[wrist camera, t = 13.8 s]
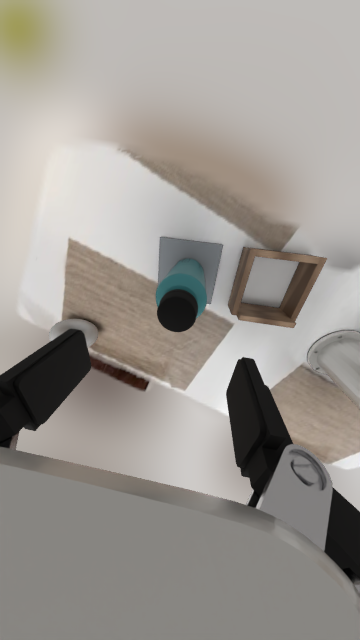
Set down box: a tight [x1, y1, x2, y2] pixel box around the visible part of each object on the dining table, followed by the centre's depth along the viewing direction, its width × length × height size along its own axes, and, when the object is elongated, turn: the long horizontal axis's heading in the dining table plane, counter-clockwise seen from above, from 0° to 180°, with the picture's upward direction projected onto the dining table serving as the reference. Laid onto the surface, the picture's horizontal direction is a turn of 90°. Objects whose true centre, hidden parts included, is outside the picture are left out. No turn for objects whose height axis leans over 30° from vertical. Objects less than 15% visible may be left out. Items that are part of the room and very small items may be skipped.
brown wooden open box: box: [228, 247, 327, 328], centre depth 30 cm, size 12×12×7 cm
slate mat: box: [158, 237, 223, 304], centre depth 33 cm, size 12×12×1 cm
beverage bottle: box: [156, 258, 207, 332], centre depth 24 cm, size 6×7×20 cm
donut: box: [49, 319, 98, 347], centre depth 39 cm, size 10×4×10 cm, turn 69°
